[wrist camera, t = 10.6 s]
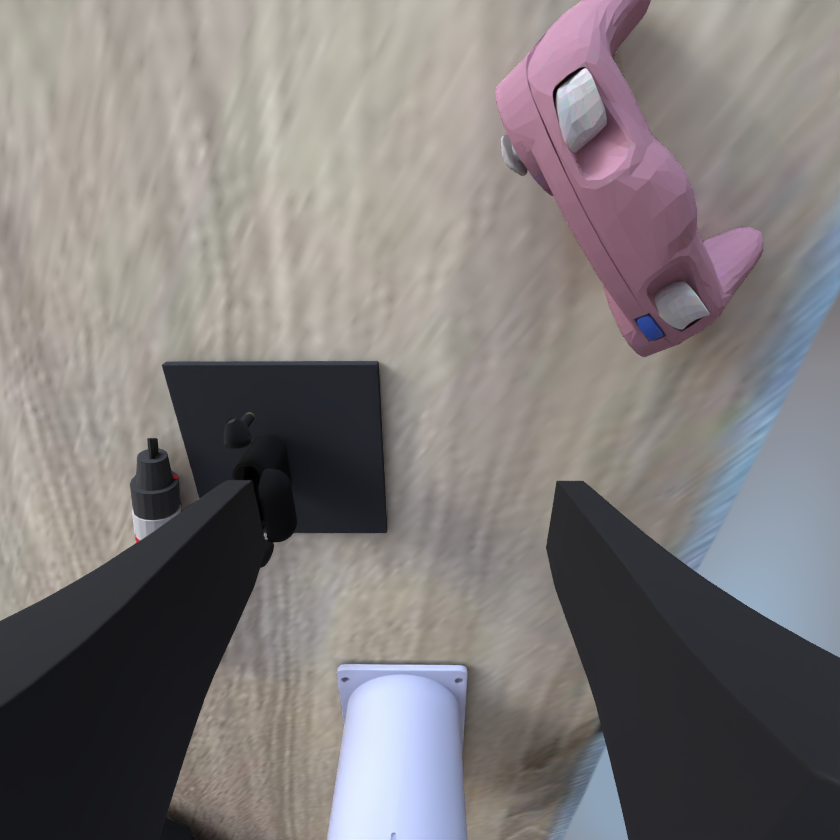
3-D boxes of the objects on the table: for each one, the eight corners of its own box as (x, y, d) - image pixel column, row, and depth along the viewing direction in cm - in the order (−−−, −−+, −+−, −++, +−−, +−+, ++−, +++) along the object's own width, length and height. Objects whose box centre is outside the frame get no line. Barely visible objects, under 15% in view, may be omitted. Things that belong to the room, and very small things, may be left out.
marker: (194, 645, 28) (178, 677, 26) (161, 640, 27) (142, 672, 26) (184, 428, 21) (162, 450, 19) (140, 420, 20) (113, 442, 19)
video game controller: (508, 74, 16) (441, 116, 11) (643, -54, 13) (627, -69, 8) (636, 300, 19) (626, 405, 15) (765, 242, 16) (804, 351, 12)
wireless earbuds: (245, 387, 19) (190, 447, 15) (304, 386, 19) (267, 448, 15) (271, 517, 22) (232, 600, 18) (321, 517, 22) (295, 600, 18)
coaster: (387, 528, 23) (386, 533, 23) (212, 527, 23) (208, 532, 23) (378, 360, 19) (377, 364, 19) (166, 361, 19) (161, 364, 19)
